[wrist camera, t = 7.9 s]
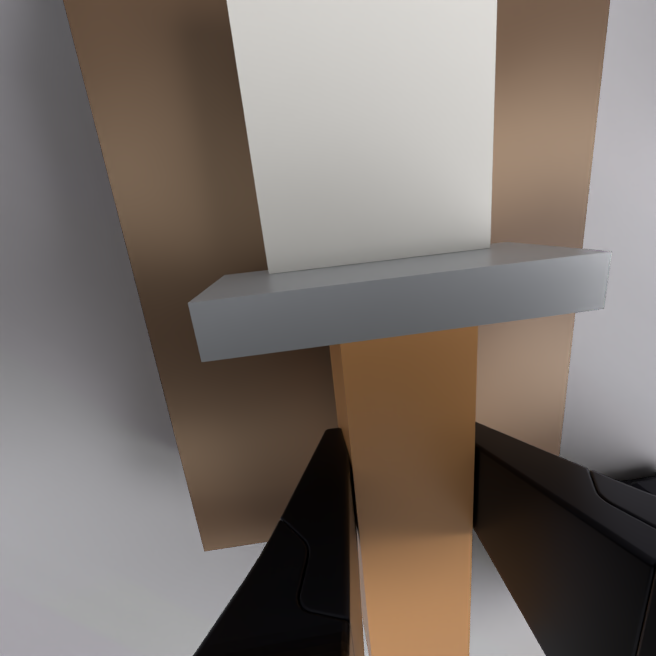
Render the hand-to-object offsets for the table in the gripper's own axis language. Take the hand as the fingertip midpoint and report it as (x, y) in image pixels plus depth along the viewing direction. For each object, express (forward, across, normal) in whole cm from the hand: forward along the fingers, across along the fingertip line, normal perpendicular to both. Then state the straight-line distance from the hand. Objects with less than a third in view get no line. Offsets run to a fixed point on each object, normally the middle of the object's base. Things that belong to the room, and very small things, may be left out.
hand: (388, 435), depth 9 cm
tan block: (+6, 0, -3) cm, 6 cm away
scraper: (+1, 0, +1) cm, 1 cm away
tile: (+2, 0, -7) cm, 7 cm away
